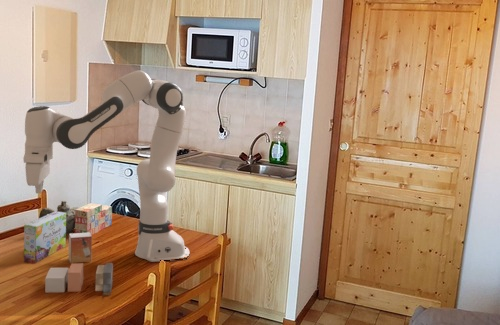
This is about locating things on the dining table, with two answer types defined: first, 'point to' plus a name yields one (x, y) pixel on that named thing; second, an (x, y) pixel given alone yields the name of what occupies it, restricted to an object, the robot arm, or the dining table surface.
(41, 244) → the snack box
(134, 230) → the dining table surface
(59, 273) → the gray block
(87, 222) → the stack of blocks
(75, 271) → the pink rectangular block
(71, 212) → the teapot
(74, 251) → the small box
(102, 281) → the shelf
